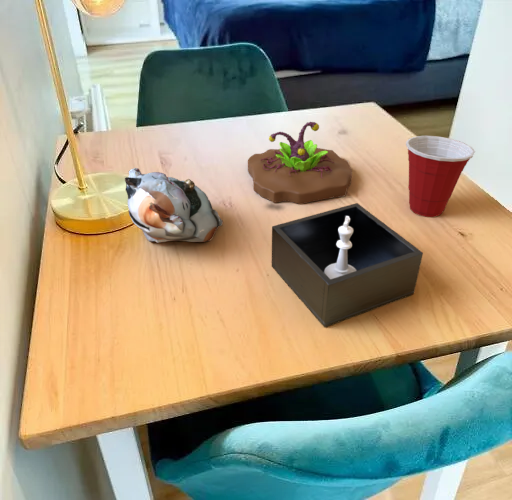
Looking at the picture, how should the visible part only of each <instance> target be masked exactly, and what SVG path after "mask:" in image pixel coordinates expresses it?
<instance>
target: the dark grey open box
mask: <svg viewBox="0 0 512 500" xmlns="http://www.w3.org/2000/svg"><path fill="white" fill-rule="evenodd" d="M346 216H349V218H350V222H349V225H348V226H350V227H352V228H353V234H352V235H351V237H350V239H349V241H350V242H351V243H352V247H351V248H350V249H347V258H348V264H349V265H351V266H353V267H354V268H355V269H356V270H357V271H354V272H351V273H348V274H345V275H342V276H339V277H336V278H333V279H330V278H329V277H328V276H327V275H326V274H325V273H324V270H325V268H326V267H327V266H328V265H330V264H333V263H337V259H338V256H339V251H340V248H338V247H337V245H336V243H337V241H338V240H341V239H340V235H339V232H338V229H339V227H341V226H343V224H344V222H345V217H346ZM423 255H424V252H423V251H421V250H420V249H419V248H418V247H416V246H415V245H414V244H412V243H411V242H410V241H408V240H407V239H406V238H404V237H403V236H402V235H400V234H399V233H398V232H396V231H395V230H393V229H392V228H391V227H390V226H388V225H387V224H385V223H384V222H383V221H382V220H381V219H380V218H378V217H377V216H376V215H373V213H371V212H370V211H368V210H367V209H366V208H364V207H363V206H362V205H360V203H358V202H356V203H351V204H349V205H345V206H340V207H337V208H334V209H329V210H327V211H322V212H320V213H316V214H312V215H307V216H305V217H301V218H297V219H294V220H290V221H286V222H283V223H280V224H279V223H278V224H276V225H272V226H271V268H272V269H273V270H274V271H275V272H276V274H278V276H279V277H280V278H281V279H282V281H283V282H284V283H285V284H286V285H287V286H288V288H289V289H290V290H291V291H292V292H293V293H294V294H295V295H296V296H297V298H298V299H299V300H300V301H301V302H302V303H303V305H304V306H305V307H306V308H307V309H308V310H309V312H310V313H311V314H312V315H313V316H314V317H315V318H316V319H317V321H318V322H319V323H320V324H321V326H322V327H323V328H328V327H329V326H333V325H335V324H338V323H341V322H344V321H346V320H348V319H352V318H354V317H357V316H359V315H362V314H365V313H368V312H370V311H374V310H376V309H379V308H381V307H383V306H386V305H389V304H392V303H394V302H398V301H400V300H403V299H406V298H407V297H411V296H413V295H415V290H416V286H417V281H418V277H419V273H420V269H421V265H422V260H423Z"/></svg>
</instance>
